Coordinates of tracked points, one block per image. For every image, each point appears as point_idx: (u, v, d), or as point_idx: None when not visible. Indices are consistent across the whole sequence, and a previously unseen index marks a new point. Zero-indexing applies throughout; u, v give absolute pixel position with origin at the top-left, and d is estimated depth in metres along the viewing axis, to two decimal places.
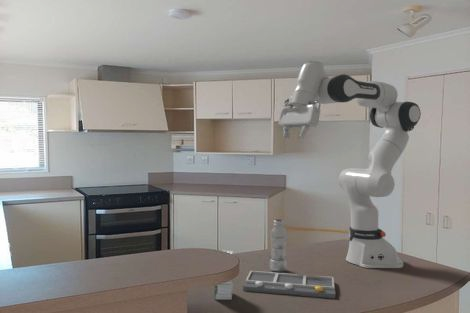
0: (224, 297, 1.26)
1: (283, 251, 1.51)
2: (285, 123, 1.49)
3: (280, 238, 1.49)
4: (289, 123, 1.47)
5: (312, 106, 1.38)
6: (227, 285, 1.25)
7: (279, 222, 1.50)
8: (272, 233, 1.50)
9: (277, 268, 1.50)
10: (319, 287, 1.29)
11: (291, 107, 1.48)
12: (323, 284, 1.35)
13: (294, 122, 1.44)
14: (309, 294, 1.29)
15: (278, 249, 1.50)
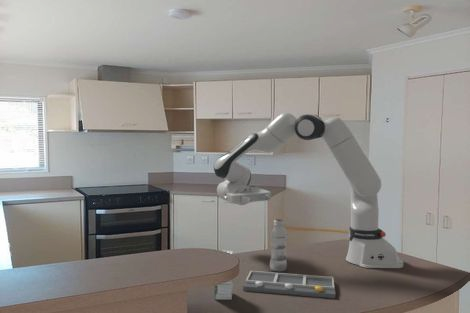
0: (224, 297, 1.26)
1: (283, 251, 1.51)
2: (261, 200, 1.68)
3: (280, 238, 1.49)
4: None
5: None
6: (227, 285, 1.25)
7: (279, 222, 1.50)
8: (272, 233, 1.50)
9: (277, 268, 1.50)
10: (319, 287, 1.29)
11: None
12: (323, 284, 1.35)
13: None
14: (309, 294, 1.29)
15: (278, 249, 1.50)
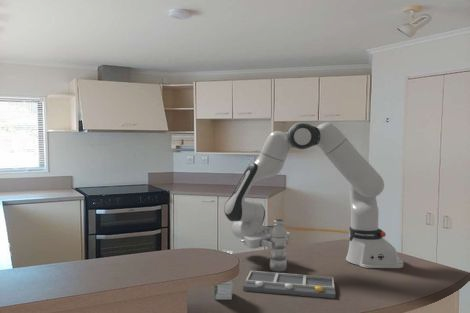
0: (224, 297, 1.26)
1: (283, 251, 1.51)
2: None
3: (280, 238, 1.49)
4: None
5: None
6: (227, 285, 1.25)
7: (279, 222, 1.50)
8: (272, 233, 1.50)
9: (277, 268, 1.50)
10: (319, 287, 1.29)
11: None
12: (323, 284, 1.35)
13: None
14: (309, 294, 1.29)
15: (278, 249, 1.50)
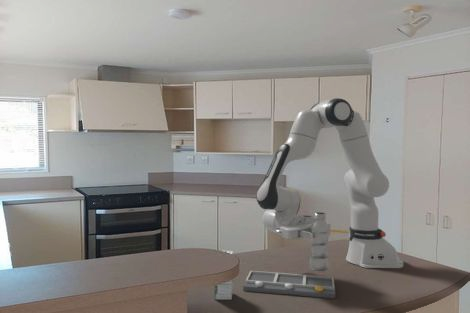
0: (224, 297, 1.26)
1: (326, 248, 1.34)
2: None
3: (323, 233, 1.32)
4: None
5: None
6: (227, 285, 1.25)
7: (321, 215, 1.33)
8: (313, 228, 1.34)
9: (319, 267, 1.33)
10: (319, 287, 1.29)
11: None
12: (323, 284, 1.35)
13: None
14: (309, 294, 1.29)
15: (320, 245, 1.33)
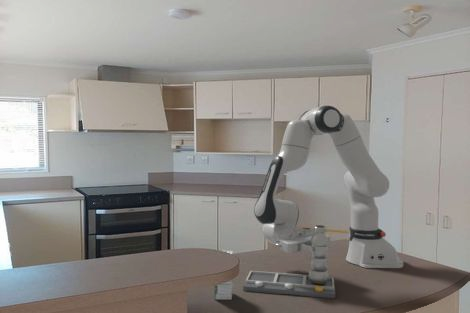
0: (224, 297, 1.26)
1: (325, 261, 1.34)
2: None
3: (323, 246, 1.33)
4: None
5: None
6: (227, 285, 1.25)
7: (321, 228, 1.33)
8: (313, 241, 1.34)
9: (319, 280, 1.33)
10: (319, 287, 1.29)
11: None
12: (323, 284, 1.35)
13: None
14: (309, 294, 1.29)
15: (319, 258, 1.33)
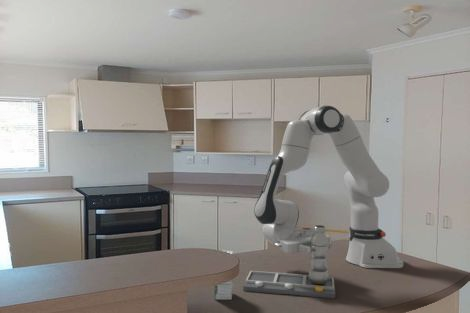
0: (224, 297, 1.26)
1: (325, 261, 1.34)
2: None
3: (322, 246, 1.33)
4: None
5: None
6: (227, 285, 1.25)
7: (321, 228, 1.33)
8: (313, 241, 1.34)
9: (319, 280, 1.33)
10: (319, 287, 1.29)
11: None
12: (323, 284, 1.35)
13: None
14: (309, 294, 1.29)
15: (319, 259, 1.33)
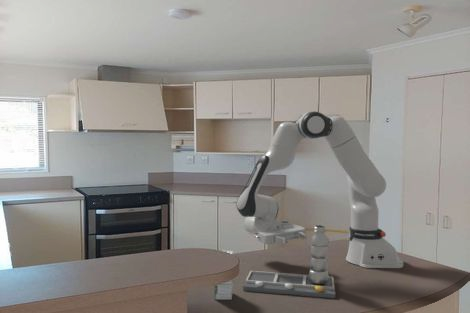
0: (224, 297, 1.26)
1: (325, 261, 1.34)
2: None
3: (322, 246, 1.33)
4: (291, 239, 1.52)
5: None
6: (227, 285, 1.25)
7: (321, 228, 1.33)
8: (313, 241, 1.34)
9: (319, 280, 1.33)
10: (319, 287, 1.29)
11: None
12: (323, 284, 1.35)
13: None
14: (309, 294, 1.29)
15: (319, 258, 1.33)
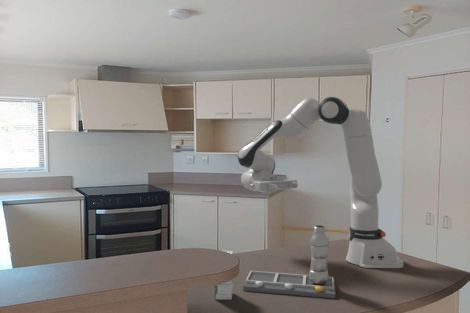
0: (224, 297, 1.26)
1: (325, 261, 1.34)
2: (288, 188, 1.67)
3: (322, 246, 1.33)
4: None
5: (254, 189, 1.64)
6: (227, 285, 1.25)
7: (321, 228, 1.33)
8: (313, 241, 1.34)
9: (319, 280, 1.33)
10: (319, 287, 1.29)
11: None
12: (323, 284, 1.35)
13: (277, 189, 1.64)
14: (309, 294, 1.29)
15: (319, 259, 1.33)
